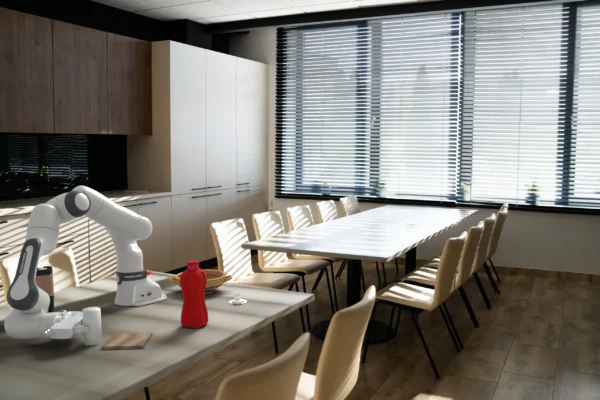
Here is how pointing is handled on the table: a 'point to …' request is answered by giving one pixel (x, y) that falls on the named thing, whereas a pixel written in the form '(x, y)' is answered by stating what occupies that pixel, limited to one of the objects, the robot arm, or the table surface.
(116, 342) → the walnut coaster
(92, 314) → the white rounded block
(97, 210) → the robot arm
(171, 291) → the table surface
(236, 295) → the teacup and saucer
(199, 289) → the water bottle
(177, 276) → the wicker basket
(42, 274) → the travel mug
